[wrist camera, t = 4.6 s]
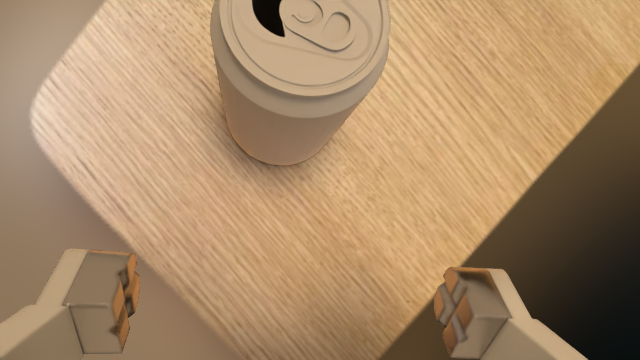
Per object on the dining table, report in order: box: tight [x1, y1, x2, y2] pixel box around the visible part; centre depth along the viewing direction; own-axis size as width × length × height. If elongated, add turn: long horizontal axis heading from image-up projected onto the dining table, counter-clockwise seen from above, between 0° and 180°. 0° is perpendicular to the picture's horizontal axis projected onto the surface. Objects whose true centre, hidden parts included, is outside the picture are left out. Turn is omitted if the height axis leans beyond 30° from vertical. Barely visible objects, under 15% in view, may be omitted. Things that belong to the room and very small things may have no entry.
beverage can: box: [210, 0, 390, 165], centre depth 20 cm, size 6×6×12 cm
